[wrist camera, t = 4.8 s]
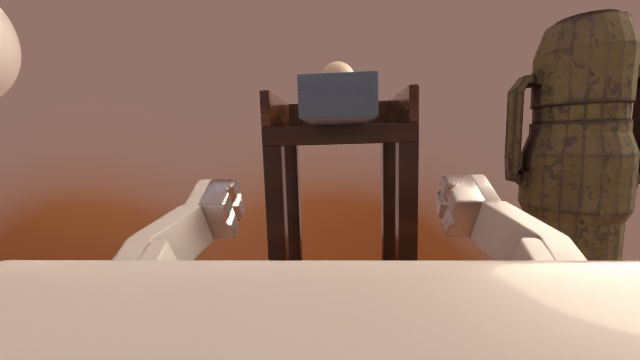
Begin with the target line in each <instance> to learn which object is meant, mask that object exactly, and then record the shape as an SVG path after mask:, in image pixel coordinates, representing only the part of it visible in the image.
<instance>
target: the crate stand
mask: <svg viewBox="0 0 640 360" xmlns="http://www.w3.org/2000/svg"><path fill="white" fill-rule="evenodd" d="M260 109H261V126H262V146H263V164H264V183H265V203H266V221H267V240H268V258H269V261H303V256H302V229H301V203H300V178H299V177H300V176H299V150H298V145H329V144H365V143H381V174H382V175H381V177H382V178H381V183H382V184H381V186H382V187H381V189H382V190H381V191H382V192H381V193H382V261H417V243H418V158H419V151H418V150H419V142H418V141H419V85H418V84H414V85H409V86H407V87H406V88H405V89H404V90H402V91H401V92H400V93H399V94H397V95H396V96H395V97H394V98H392V99H391V100H390V101H378V116H377V117H375V118H374V119H372V120H370V121H369V122H367V123H366V124H347V125H317V126H313V125H311V124H309V123H307V122H305V121H303V120H301V119H299V110H298V104H288V103H286V102H285V101H283V100H282V99H280V98H279V97H278V96H276V95H275V94H273V93H272V92H270V91H269V90H264V91H260Z"/></svg>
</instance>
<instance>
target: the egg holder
mask: <svg viewBox="0 0 640 360" xmlns="http://www.w3.org/2000/svg"><path fill="white" fill-rule="evenodd" d="M297 84H298V110H299V119H301V120H303V121H305V122H307V123H309V124H311V125H313V126H317V125H347V124H366V123H367V122H369V121H370V120H372V119H374V118H375V117H377V116H378V71H364V72H363V71H361V72H353V70H352V69H351V67H350V66H348V65H347V64H346V63H343V62H334V63H331V64H329V65H328V66H327V67H326V68H325V69H324V70H323V73H316V74H298V75H297Z"/></svg>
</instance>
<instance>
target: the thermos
mask: <svg viewBox="0 0 640 360" xmlns="http://www.w3.org/2000/svg"><path fill="white" fill-rule="evenodd" d="M639 62H640V38H639V34H638V32H637V29H636V26H635V24H634V21H633V18H632V15H631V14H630V13H628V12H622V11H619V10H613V9H607V10H597V11H590V12H586V13H581V14H577V15H575V16H571V17H568V18H565V19H563V20H561V21H559V22H557V23H556V24H555V25H553V26H551V27H550V28H548V29H547V30H546V31H545V32H544V35H543V37H542V40H541V42H540V44H539V47H538V49H537V52H536V55H535V57H534V60H533V72H532V75H526V76H523V77H521V78H519V79H518V80H517V81H516V83H515V84H514V85H513V86H512V88H511V89H510V90H509V92H508V102H507V121H506V142H505V177H506V180H509V181H513V182H516V183H517V184H518V185H519V193H518V201H519V203H520V206H521V208H522V211H524V212H525V213H527V214H529V215H531V216H533V217H534V218H536V219H538V220H540V221H542V222H543V223H545V224H547V225H549V226H550V227H552V228H554V229H556V230H558V231H559V232H561V233H563V234H565V235H567V236H568V237H569V238H570V239H571V240H572V241H573V243H574V244H575V245H576V246H577V248H578V249H579V250H580V252H581V253H582V254H583V255H584V257H585V258H586V259H587V260H588V261H622V250H623V241H624V232H625V222H626V221H627V220H628V218H629V217H630V216H631V214H632V213H633V212H634V208H635V199H636V188H637V187H638V184H640V65H639ZM526 88H532V90H531V107H530V109H532V110H533V113H532V124H530V125H529V135H528V138H527V140H526V142H525V145H524V147H523V149H522V151H521V140H522V123H523V122H522V121H523V104H524V90H525V89H526ZM633 102H634V107H633V117H632V120H631V119H630V118H631V109H632V103H633ZM519 168H520V169H519Z"/></svg>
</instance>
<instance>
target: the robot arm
mask: <svg viewBox="0 0 640 360" xmlns="http://www.w3.org/2000/svg"><path fill="white" fill-rule="evenodd" d="M20 66H21V49H20V43H19V40H18V37H17V34H16V32H15V29H14V27H13V25H12V24H11V22H10V20H9V19H8V17H7V16H6V14H5V13H4V12H3V10H2V9H1V8H0V97H1V96H2V95H4V94H5V93H6V92H7V91H8V90H9V89H10V87H11V86H12V85H13V83H14V81H15V80H16V78H17V76H18V73H19V70H20ZM440 187H441V189H442V190H441V191H439V192H438V193H437V198H436V208H437V213H438V215H439V217H441V218H442V219H443V222H442V226H443V229H444V231H445V234H446V237H467V238H470V239H471V240H472V241H473V242H474V243H475V244H476V245H477V246H478V247H480V248H481V249H482V250H483V251H484V252H485V253H486V254H488V256H490V257H491V258H492V259H493V260H494V261H193V260H194V259H195V258H196V257H197V256H198V255H199V254H200V253H201V252H202V251H203V250H204V249H205V248H206V247H207V246H208V245H209V244H210V243H211V242H212V241H213V240H214V239H218V238H235V236H236V233H237V230H238V227H239V224H238V220H240V219H241V218H242V216H243V212H244V201H243V197H242V195H241V194H240V193H238V191H239V189H240V186H239V183H238V181H237V180H233V179H228V180H227V179H226V180H225V179H213V180H211V179H206V180H199V181H198V182H197V184H196V186H195V187H194V189H193V191H192V192H191V194H190V196H189V198H188V199H187V201H186V203H185V204H184V205H180V206H179V207H177V208H175V209H174V210H172V211H171V212H169V213H167V214H166V215H164V216H163V217H161V218H159V219H158V220H156V221H155V222H153V223H151V224H150V225H148V226H146V227H145V228H143V229H142V230H140V231H139V232H137V233H135V234H134V235H132V236H130V237H129V238H127V240H126V241H125V242H124V244H123V245H122V247H121V248H120V250H119V251H118V252H117V254H116V255H115V257H114V258H113V259H112V260H107V261H106V260H104V261H103V260H102V261H101V260H92V261H91V260H70V261H69V260H6V261H0V360H640V261H588V260H587V259H586V258H585V257H584V255H583V254H582V253H581V252H580V250H579V249H578V248H577V246H576V245H575V244H574V243H573V241H572V240H571V239H570V238H569V237H568V236H567V235H565V234H563V233H561V232H559V231H558V230H556V229H554V228H552V227H550V226H549V225H547V224H545V223H543V222H542V221H540V220H538V219H536V218H534V217H533V216H531V215H529V214H527V213H525V212H524V211H522V210H520V209H518V208H517V207H515V206H513V205H511V204H509V203H508V202H506V201H503V202H502V201H501V200H500V198H499V197H498V195H497V194H496V192H495V190H494V189H493V187H492V186H491V184H490V183H489V181H488V180H487V178H486V177H485V176H484V175H482V174H481V175H469V176H468V175H467V176H442V178H441V180H440Z"/></svg>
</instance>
